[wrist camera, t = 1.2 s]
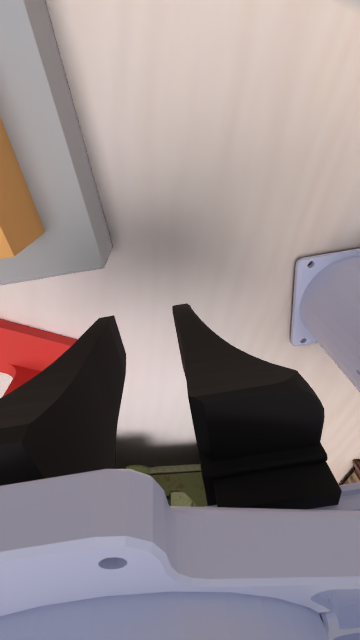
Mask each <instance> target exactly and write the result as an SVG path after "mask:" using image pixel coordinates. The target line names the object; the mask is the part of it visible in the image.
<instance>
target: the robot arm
mask: <svg viewBox="0 0 360 640" xmlns="http://www.w3.org/2000/svg"><path fill="white" fill-rule="evenodd" d="M311 261H312V264H311V265H310V266H307V265H308V263H309V262H311ZM173 316H174V321H175V327H176V332H177V338H178V343H179V349H180V354H181V359H182V365H183V369H184V373H185V376H186V380H187V389H188V398H189V403H190V409H191V414H192V420H193V425H194V430H195V436H196V441H197V447H198V452H199V459H200V466H201V473H202V479H203V483H204V488H205V494H206V499H207V504H208V506H205V507H189V506H169V504H168V501H167V498H166V495H165V492H164V490H163V489H162V488H161V486H160V485H159V484H158V483H157V482H156V481H155V480H154V479H153V478H152V477H151V476H150V475H147V474H144V473H141V472H138V471H135V470H132V469H115V450H116V432H117V423H118V416H119V410H120V404H121V398H122V393H123V387H124V381H125V374H126V353H125V349H124V346H123V343H122V340H121V337H120V333H119V330H118V327H117V324H116V320H115V317H114V316H109V317H103V318H99V319H98V320H97V321H96V322H95V323H94V324H93V325H92V326H91V327H90V328H89V329H88V330H87V331H86V332H85V333H84V334H83V335H82V336H81V337H80V338H79V339H78V340H77V341H76V342H75V343H74V344H73V345H72V346H71V347H70V348H69V349H68V350H67V351H65V352H64V353H63V354H62V355H61V356H60V357H59V358H58V359H57V360H55V361H54V362H53V363H52V364H51V365H49V366H48V367H47V368H45V369H44V370H43V371H42V372H40V373H39V374H38V375H36V376H35V377H33V378H32V379H30V380H29V381H27V382H26V383H24V384H23V385H21V386H20V387H18V388H17V389H15V390H13V391H12V392H10V393H9V394H7V395H5V396H3V397H2V398H0V640H360V482H357V483H351V484H344V485H338V483H337V481H336V479H335V477H334V476H333V474H332V472H331V470H330V468H329V466H328V465H327V463H326V461H327V454H326V452H325V450H324V448H323V447H322V445H321V443H320V440H321V434H322V429H323V423H324V408H323V406H322V403H321V401H320V400H319V398H318V397H317V395H316V394H315V392H314V391H313V389H312V388H311V387H310V386H309V384H308V383H307V382H306V381H305V380H304V378H303V377H302V376H301V375H300V374H299V373H298V371H296V370H293V369H289V368H286V367H282V366H279V365H275V364H272V363H269V362H266V361H264V360H261V359H259V358H256V357H254V356H251V355H249V354H247V353H245V352H243V351H241V350H239V349H237V348H236V347H234V346H232V345H230V344H229V343H227V342H226V341H224V340H223V339H222V338H220V337H219V336H218V335H217V334H215V333H214V332H213V331H212V330H211V329H210V328H209V327H207V325H206V324H205V323H204V322H203V321H202V320H201V319H200V318H199V317H198V316H197V315H196V314H195V312H194V311H193V310H192V308H191V307H190V305H188V304H181V305H175V306H173ZM303 338H304V339H303ZM301 339H303V340H302V341H301ZM290 341H291V343H292V344H293V345H294V346H300V345H306V344H312V343H319V344H320V345H321V346H322V347H323V349H324V350H325V351H326V352H327V353H328V355H329V356H330V357H331V358H332V359H333V361H334V362H335V363H336V364H337V365H338V367H339V368H340V369H341V370H342V371H343V373H344V374H345V375H346V376H347V377H348V379H349V380H350V381H351V382H352V384H353V385H354V386H355V387H356V388H357V390H358V391H359V392H360V248H358V249H352V250H346V251H340V252H334V253H328V254H322V255H316V256H310V257H304V258H301V259H299V260H298V261H297V262H296V267H295V281H294V296H293V310H292V324H291V339H290Z"/></svg>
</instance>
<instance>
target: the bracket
mask: <svg viewBox="0 0 360 640" xmlns="http://www.w3.org/2000/svg"><path fill="white" fill-rule="evenodd" d="M76 341H77V339H73V338H69V337H66V336H62V335H58V334H55V333H51V332H47V331H44V330H40V329H36V328H32V327H29V326H25V325H21V324H18V323H14V322H10V321H7V320H3V319H0V372H2V373H6V374H9V375H10V376H12V377H13V380H12V382H11V384H10V385H9V387H8V389H7V390H6V392H5V394H4V395H3V396H5V395H7V394H9V393H10V392H12V391H13V390H15V389H17V388H18V387H20V386H21V385H23V384H24V383H26V382H27V381H29V380H30V379H32V378H33V377H35V376H36V375H38V374H39V373H40V372H42V371H43V370H44V369H45V368H47V367H48V366H49V365H51V364H52V363H53V362H54V361H55V360H57V359H58V358H59V357H60V356H61V355H62V354H63V353H64V352H65V351H67V350H68V349H69V348H70V347H71V346H72V345H73V344H74V343H75V342H76Z"/></svg>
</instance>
